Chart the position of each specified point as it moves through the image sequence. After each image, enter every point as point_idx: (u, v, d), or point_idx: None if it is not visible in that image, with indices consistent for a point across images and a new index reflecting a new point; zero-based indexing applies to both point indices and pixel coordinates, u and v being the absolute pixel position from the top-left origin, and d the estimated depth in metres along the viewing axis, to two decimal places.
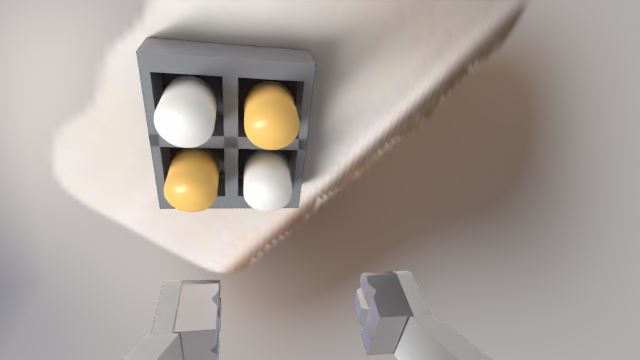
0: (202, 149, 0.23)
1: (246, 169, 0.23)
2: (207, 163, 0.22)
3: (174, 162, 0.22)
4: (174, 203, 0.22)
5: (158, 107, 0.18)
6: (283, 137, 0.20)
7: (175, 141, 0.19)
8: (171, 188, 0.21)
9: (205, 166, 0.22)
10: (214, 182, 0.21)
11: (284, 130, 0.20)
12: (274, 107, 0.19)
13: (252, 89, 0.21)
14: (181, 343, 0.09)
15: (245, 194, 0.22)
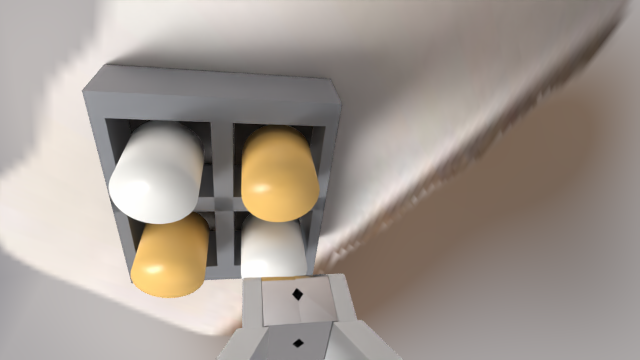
0: None
1: (245, 237, 0.17)
2: (191, 233, 0.16)
3: (146, 232, 0.16)
4: (147, 289, 0.16)
5: (114, 174, 0.12)
6: (296, 206, 0.14)
7: (143, 217, 0.14)
8: (141, 272, 0.15)
9: (189, 239, 0.16)
10: (201, 261, 0.16)
11: (298, 197, 0.14)
12: (284, 169, 0.13)
13: (253, 136, 0.15)
14: (268, 337, 0.09)
15: (243, 274, 0.16)
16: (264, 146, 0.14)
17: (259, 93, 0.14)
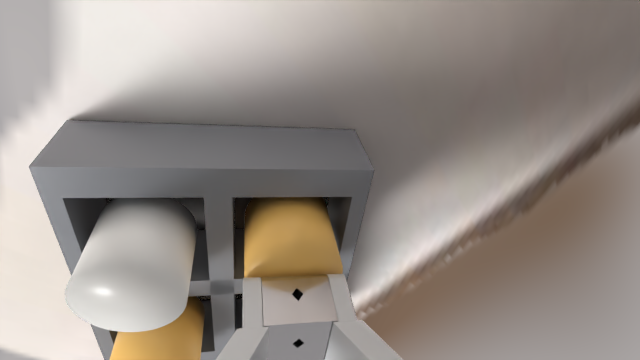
0: None
1: None
2: (181, 326, 0.13)
3: None
4: None
5: (72, 282, 0.09)
6: None
7: (115, 325, 0.10)
8: None
9: (178, 335, 0.12)
10: None
11: None
12: (299, 251, 0.10)
13: (258, 199, 0.12)
14: (268, 337, 0.09)
15: None
16: (273, 217, 0.11)
17: (267, 158, 0.11)
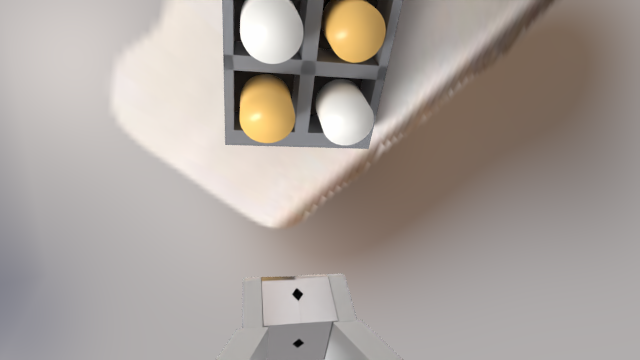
0: (275, 77, 0.21)
1: (322, 99, 0.21)
2: (283, 89, 0.20)
3: (248, 88, 0.20)
4: (249, 132, 0.20)
5: (247, 12, 0.17)
6: (367, 48, 0.20)
7: (260, 55, 0.18)
8: (248, 113, 0.19)
9: (283, 91, 0.20)
10: (293, 108, 0.20)
11: (369, 39, 0.19)
12: (363, 11, 0.18)
13: (332, 0, 0.20)
14: (268, 336, 0.09)
15: (324, 123, 0.20)
16: (345, 0, 0.19)
17: None
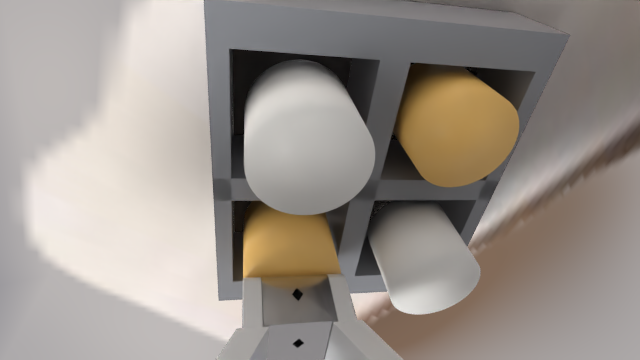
0: None
1: (386, 237, 0.12)
2: (319, 221, 0.12)
3: (258, 220, 0.12)
4: None
5: (260, 132, 0.08)
6: (479, 164, 0.11)
7: (285, 204, 0.09)
8: (258, 275, 0.11)
9: (320, 229, 0.11)
10: (337, 260, 0.11)
11: (486, 150, 0.10)
12: (483, 107, 0.09)
13: (410, 72, 0.11)
14: (268, 336, 0.09)
15: (393, 290, 0.11)
16: (441, 79, 0.10)
17: (450, 18, 0.09)
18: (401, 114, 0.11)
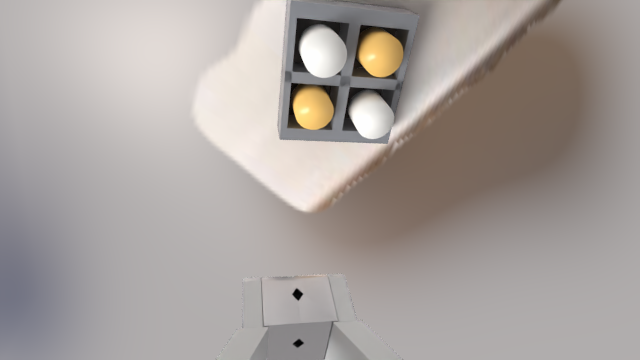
0: None
1: (355, 104, 0.28)
2: (324, 91, 0.28)
3: (299, 90, 0.28)
4: (300, 121, 0.28)
5: (309, 42, 0.24)
6: (389, 66, 0.27)
7: (315, 72, 0.25)
8: (301, 107, 0.27)
9: (325, 92, 0.28)
10: None
11: (391, 60, 0.27)
12: (387, 41, 0.26)
13: (363, 32, 0.28)
14: (268, 336, 0.09)
15: (357, 122, 0.27)
16: (373, 33, 0.27)
17: (375, 9, 0.26)
18: (359, 47, 0.27)
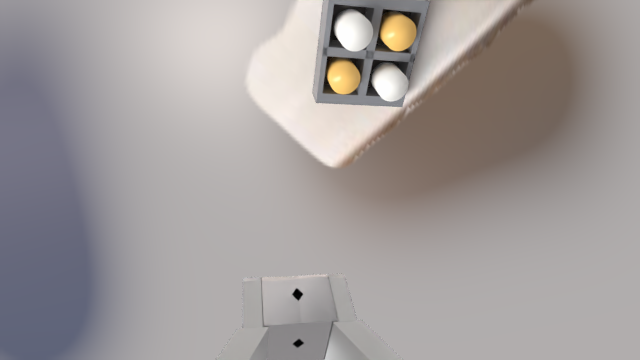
0: None
1: (377, 73, 0.35)
2: (352, 63, 0.35)
3: (333, 62, 0.35)
4: (334, 87, 0.35)
5: (344, 23, 0.31)
6: (405, 42, 0.34)
7: (348, 46, 0.32)
8: (335, 76, 0.35)
9: (353, 64, 0.35)
10: None
11: (407, 37, 0.34)
12: (404, 22, 0.33)
13: (384, 15, 0.34)
14: (268, 336, 0.09)
15: (379, 87, 0.35)
16: (393, 15, 0.33)
17: None
18: (381, 27, 0.34)
